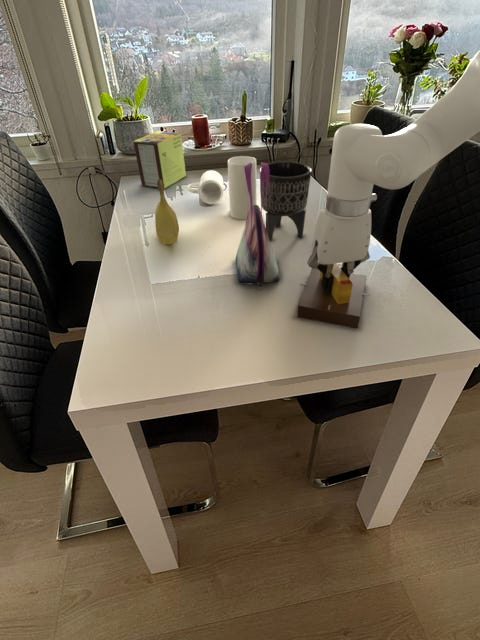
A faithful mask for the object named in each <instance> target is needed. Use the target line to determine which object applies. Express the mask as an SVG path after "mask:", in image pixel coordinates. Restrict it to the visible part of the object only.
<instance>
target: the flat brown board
mask: <svg viewBox="0 0 480 640" xmlns="http://www.w3.org/2000/svg"><path fill="white" fill-rule="evenodd" d="M320 274H321V272H320V271H319V270H318V269H314V268H311V270H310V272H309V275H308V278H307V280H306V283H299V284H300V285H299V286H303V291H302V293H301V295H300V298H299V302H298V304H297V311H296V318H300V319H305V320H309V321H316V322H320V323H325V324H331V325H337V326H342V327H347V328H353V329H358V328H359V323H360V319H361V315H362V308H363V302H364V301H363V300H364V296H365V297H370V294H369V293H365V289H366V283H367V275H364V274H358V273H352V274H350V277H349V280H351V282H352V283H353V287H352V292H351V297H350V302H349V303H343V304H338V303H337V302H336V300H335V299H334V297H333V296H332V294H331V293H330V294H328V293H327V292H326V290H325V289H324V288H323V287H322V284H321V283H322V280H321V279H320Z"/></svg>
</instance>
